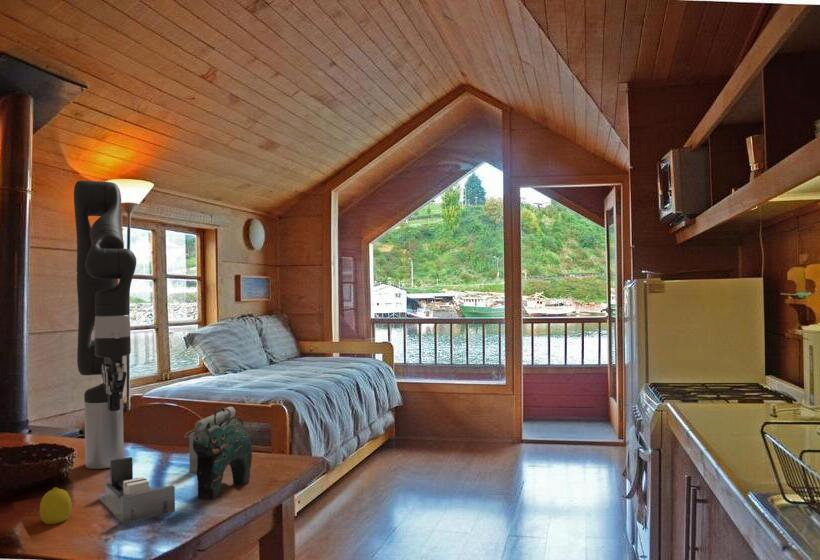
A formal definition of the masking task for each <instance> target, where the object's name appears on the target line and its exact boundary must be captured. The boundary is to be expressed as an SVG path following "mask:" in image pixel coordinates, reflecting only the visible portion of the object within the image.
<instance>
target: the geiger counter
mask: <svg viewBox="0 0 820 560" xmlns="http://www.w3.org/2000/svg"><path fill="white" fill-rule="evenodd" d="M224 409H225V412H223V410H222V409H221V411H219V412H217V414H216V425H217V424H219V423H221V422H224V423H226V422H227V421H228V420H229V419H230V418H232V417H236V412H237V411H236V409H235V407H234V406H228V407H224ZM208 423H210V425H212V426H213V425H215V423H214V414H212V415H210V416H206V417H205V418H203V419H200V420H198V421H196V422H195V423H194V428H193V429H191V430H188V431H187V432H185V433H184V435H183V438H185V439H188V438H189V440H188V441H189V443H188V444H189V446H188V447H189V473H197V454H196V452H195V451H194V449H193V437H194V433H195V431H196V430H197V429H198V428H199V427H200V426H202V425H207V424H208ZM224 423H223V424H224ZM229 423H238V419H232V420H231V421H230V422H229Z"/></svg>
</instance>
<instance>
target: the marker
mask: <svg viewBox="0 0 820 560" xmlns="http://www.w3.org/2000/svg"><path fill="white" fill-rule="evenodd" d="M135 478H136V479H134V478H133V479H131V480H127V481H123V494H124V495H129V494H134V493H138V492H143V491H148V490H149V487H150V485H149V484H150V482H149V480H147V478H145V477H135Z"/></svg>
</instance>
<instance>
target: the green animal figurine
mask: <svg viewBox="0 0 820 560" xmlns="http://www.w3.org/2000/svg"><path fill="white" fill-rule="evenodd" d="M220 410H221V411H222V410H223V412H225V407H223V406H221V407H217V408H216V410H215V411H214V413H213V415H214V423H215V425H213V426H212V425H210V423H208V424H207V425H202V426H200V427H199V428H198V429H197V430H195V431H194V432H195V433H194V437H193V449H194V451H195V452H196V454H197V472H196V479H197V497H198V499H200V500H212V501H213V500H215V499H216V498H218V497H220V495H221V487H222V481H223V477H224V472H225V470H226V468H227V467H228V465H229V466H230V470H231V473H232V474H231V476H232V484H233V485H241V486H242V485H246V484H248V483H249V482H250V477H251V467H252V458H253V449H252V446H253V445H252V441H251V438H250V433H249V432H248V429H247V427H246V426H244V421H243V418H241V417H240V416H234V417H232V418H230V419H229V420H228V421H227V422H226V423H224V422H221V423H219V424H217V425H216V414H217V413H219V412H218V411H220ZM232 419H237V420H239V421H240V423H238V422H237V423H229V422H230V421H231V420H232ZM223 423H224V424H223Z"/></svg>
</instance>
